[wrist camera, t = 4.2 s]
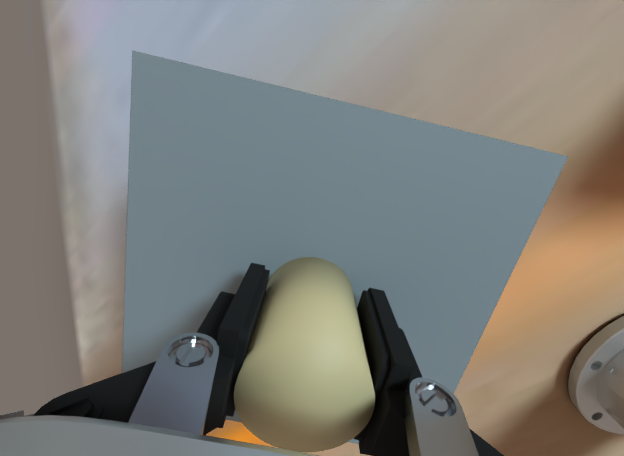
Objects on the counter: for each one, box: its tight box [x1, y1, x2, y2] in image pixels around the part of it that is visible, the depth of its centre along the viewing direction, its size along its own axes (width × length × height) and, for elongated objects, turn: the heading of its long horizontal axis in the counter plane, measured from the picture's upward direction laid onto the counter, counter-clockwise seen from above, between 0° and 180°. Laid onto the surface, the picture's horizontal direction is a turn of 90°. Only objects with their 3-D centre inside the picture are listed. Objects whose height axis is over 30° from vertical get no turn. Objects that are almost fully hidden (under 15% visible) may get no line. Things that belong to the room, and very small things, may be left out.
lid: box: [122, 51, 568, 452], centre depth 11 cm, size 15×15×6 cm
